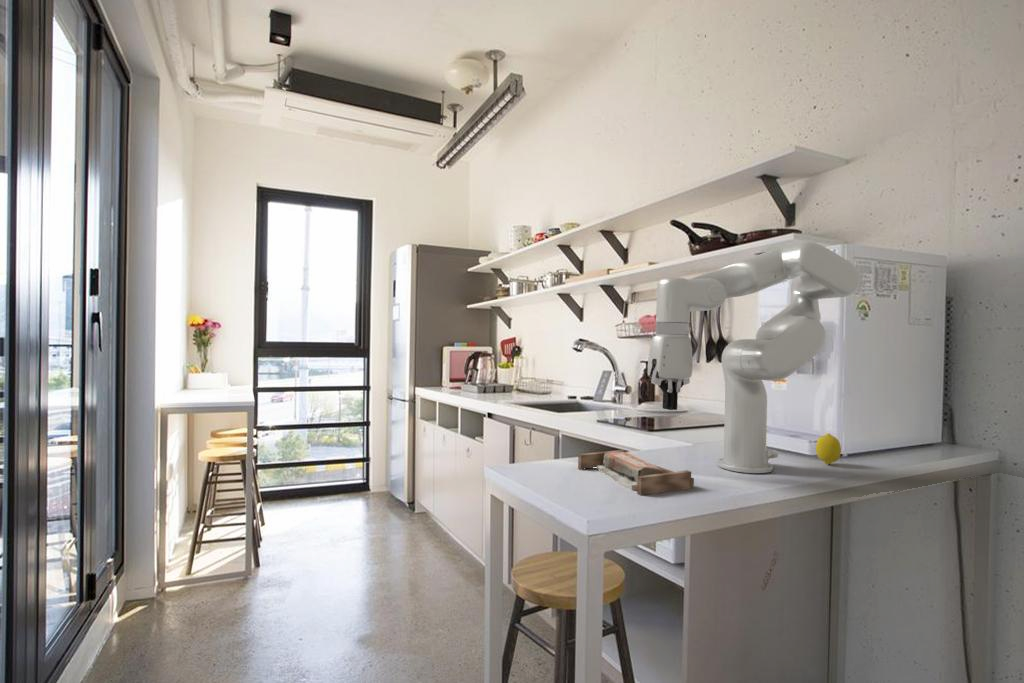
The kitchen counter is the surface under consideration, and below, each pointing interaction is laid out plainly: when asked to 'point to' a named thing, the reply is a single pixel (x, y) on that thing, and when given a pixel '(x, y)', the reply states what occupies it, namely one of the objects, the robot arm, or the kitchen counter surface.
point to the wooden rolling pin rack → (647, 482)
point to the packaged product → (626, 468)
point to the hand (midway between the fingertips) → (669, 409)
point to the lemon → (828, 449)
